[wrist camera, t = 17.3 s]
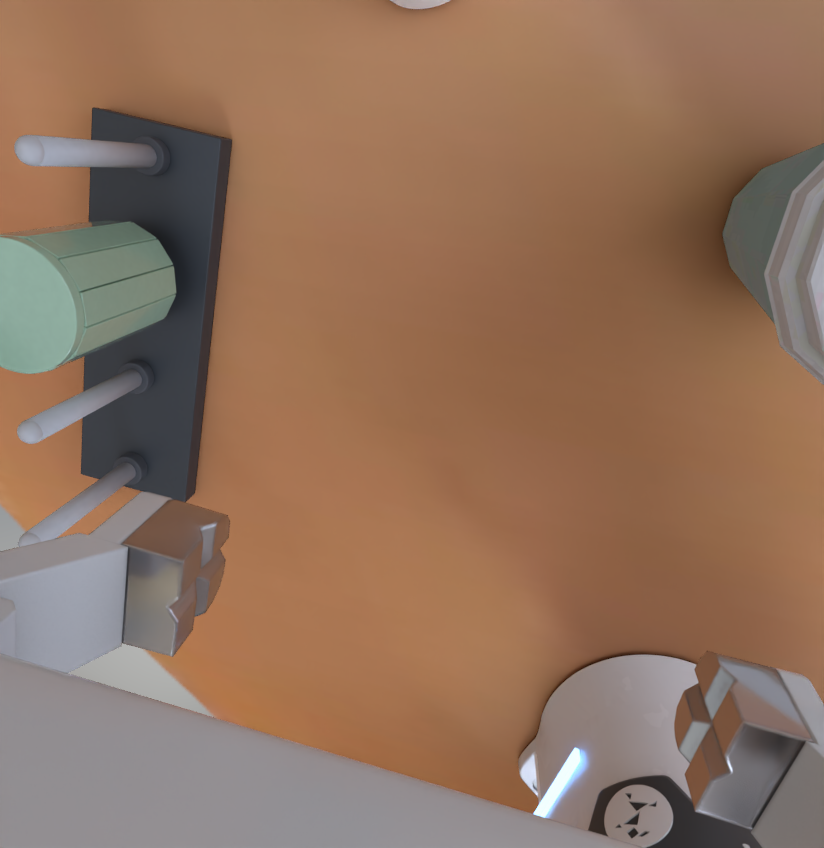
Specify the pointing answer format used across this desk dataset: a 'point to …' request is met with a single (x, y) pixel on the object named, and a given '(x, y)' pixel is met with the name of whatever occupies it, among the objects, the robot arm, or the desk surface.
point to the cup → (78, 291)
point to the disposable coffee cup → (784, 251)
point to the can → (419, 3)
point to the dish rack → (160, 343)
